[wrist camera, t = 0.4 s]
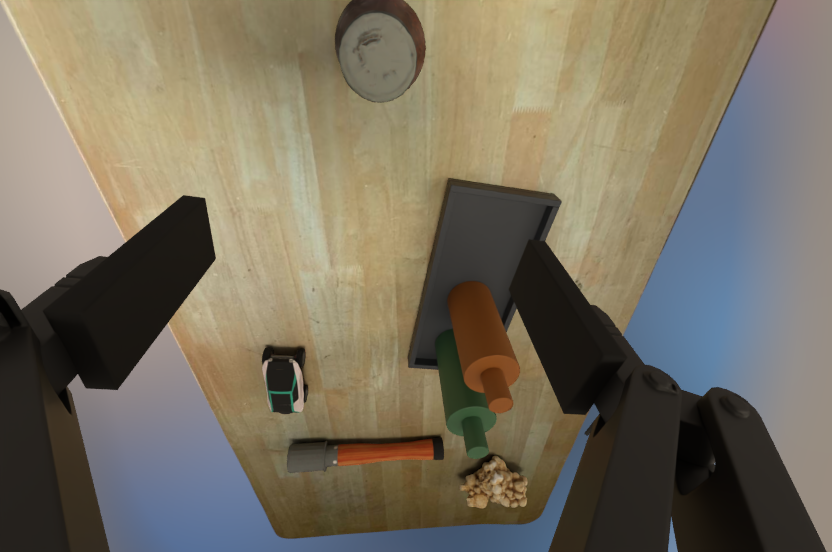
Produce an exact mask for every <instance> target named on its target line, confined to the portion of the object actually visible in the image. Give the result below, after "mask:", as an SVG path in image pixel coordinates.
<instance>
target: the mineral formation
mask: <svg viewBox="0 0 832 552" xmlns="http://www.w3.org/2000/svg"><path fill="white" fill-rule="evenodd" d="M527 484H528V482H527V478H526V477H524V476H523V475H522V476H521V475H520V476H519V474H518V473H517V472H514V473H511V472H510V471H509V469H508V468H507V467H506V464H505V462H504V460H501V459H500V458H499V457H498V456H493V457H492V460H491V461H490V462H485V463H483V465H482V468H481V469H479V470H478V471H477V472H475V473H474V474H471V475H469V476H466V482H465V483H464V484H460V490H464V491H466V492H467V493H469V496H468V498H467V504H468V506H471V507H473V506H476V507H478V508H484V507H486V505H487V502H488V498H490V500H491V501H492V502H497V503H498V504H499V503H501V504H502V505H503V506H505V507H509V505H510V506H511V507H513V508H514V507H517V506H518V504H519V505H520V506H523V507H524V506H525V505H526V503H527V498H526V496H525V493H526V491H527V488H526V485H527Z"/></svg>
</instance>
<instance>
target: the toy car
mask: <svg viewBox="0 0 832 552" xmlns="http://www.w3.org/2000/svg"><path fill="white" fill-rule="evenodd" d="M304 362H305V350H304V349H298V350H297V353H296V355H295V356H286V355H277V356H276V355H274V350H273V348H270V347H268V348H265V349H264V352H263V356H262V363H263V367H262V371H263V374H264V379H265V385H266V390H267V396H268V405H269V408H270V411H271V412H279V413H281V414H290V413H293V412H295V413H299V412H301V411H302V410H303V407H304V403H305V402H306V400H307V395H308V386H306V385H303V376H302V370H301V367H303V365H304Z"/></svg>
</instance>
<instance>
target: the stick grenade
mask: <svg viewBox="0 0 832 552" xmlns="http://www.w3.org/2000/svg"><path fill="white" fill-rule="evenodd" d="M405 459H419V460H443V459H444V447H443V441H442V438H432V439H425V440H418V441H413V442H402V443H385V444H369V443H356V444H340V445H328V442H327V441H325V442H318V443H302V444H292V445H290V447H289V451H288V456H287V470H288V472H289V473H296V472H310V471H324V472H325V471H326V469H327V467H330V466H346V465H360V464H366V463H372V462H378V461H390V460H405Z"/></svg>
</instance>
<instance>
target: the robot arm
mask: <svg viewBox="0 0 832 552" xmlns="http://www.w3.org/2000/svg"><path fill="white" fill-rule="evenodd" d="M215 259H216V257H215V251H214V246H213V240H212V235H211V229H210V223H209V218H208V212H207V207H206V201H205V198H200V197H192V196H185V195H183V196H182V197H181V198H179V199H178V200H177V201H176V202H175V203H173V204H172V205H171V206H170V207H168V208H167V209H166V210H165V211H164V212H162V213H161V214H160V215H159V216H157V217H156V218H155V219H154V220H153V221H151V222H150V223H149V224H148V225H146V226H145V227H144V228H143V229H142V230H140V231H139V232H138V233H137V234H136V235H134V236H133V237H132V238H131V239H129V240H128V241H127V242H126V243H125V244H123V245H122V246H121V247H120V248H118V249H117V250H116V251H115V252H114V253H112V254H111V255H110V256H109V257H103V256H99V257H96V258H94V259H92V260H89V261H87V262H85V263H83V264H80V265H79V266H78V267H76V268H75V269H74V270H72V271H71V272H70V273H68V274H67V275H66V278H64V277H63V278H62V279H61V280H59V281H58V282H57V283H56V284H55V286H54V287H50V288H49V289H48V290H46V291H45V292H44V293H42V294H41V295H40V296H39V297H37V298H36V299H35V300H33V301H32V302H31V303H29V304H28V305H27V306H26V307H24V308H23V309H22V310H21V309H20V308H19V306H18V304H17V303H16V301H15V299H14V298H13V297H12V295H11V294H10V293H9V292H7V291H4V290H0V552H110V550H109V546H108V542H107V538H106V534H105V530H104V525H103V522H102V517H101V513H100V509H99V505H98V501H97V497H96V493H95V488H94V484H93V480H92V476H91V472H90V468H89V463H88V460H87V455H86V451H85V447H84V443H83V439H82V435H81V431H80V426H79V422H78V418H77V414H76V410H75V406H74V401H73V398H72V394H71V392H70V390H69V389H68V387H67V385H68V384H69V383H70V382H71V381H72V380H73V379H74V378H75V376H76V375H77V374H78V375H79V376H80V378H81V380H82V382H83V384H84V386H85V387H86V388H91V389H110V390H118V388H119V387H120V386H121V384H122V383H123V382H124V380H125V379H126V378H127V376H128V375H129V374H130V372H131V371H132V370H133V368H134V367H135V366H136V364H137V363H138V362H139V360H140V359H141V358H142V356H143V355H144V354H145V352H146V351H147V350H148V348H149V347H150V346H151V344H152V343H153V342H154V340H155V339H156V338H157V336H158V335H159V334H160V332H161V331H162V330H163V328H164V327H165V326H166V324H167V323H168V322H169V320H170V319H171V318H172V316H173V315H174V314H175V312H176V311H177V310H178V308H179V307H180V306H181V304H182V303H183V302H184V300H185V299H186V298H187V296H188V295H189V294H190V292H191V291H192V290H193V289H194V287H195V286H196V285H197V283H198V282H199V281H200V279H201V278H202V277H203V275H204V274H205V273H206V271H207V270H208V269H209V267H210V266H211V265H212V263H213V262H214V261H215ZM509 291H510V294H511V296H512V298H513V300H514V303H515V305H516V307H517V309H518V312H519V314H520V316H521V318H522V321H523V323H524V325H525V327H526V330H527V332H528V334H529V336H530V339H531V341H532V343H533V345H534V348H535V350H536V352H537V354H538V357H539V359H540V361H541V363H542V366H543V368H544V370H545V372H546V375H547V377H548V379H549V381H550V384H551V386H552V388H553V390H554V393H555V395H556V397H557V399H558V402H559V404H560V406H561V408H562V411H563V413H564V414H581V415H586V413H587V412H588V411H589V409H590V408H591V407H592V405H593V404H595V405H596V407H597V409H598V411H599V413H600V414H599V415H598V417H597V418H596V419H595V420H594V422H593V423H592V424H591V425H590V427H589V428H588V429H587V431H586V432H585V434H586V435H589V434H590V435H589V438H588V440H587V443H586V446H585V449H584V452H583V455H582V457H581V460H580V463H579V466H578V469H577V472H576V475H575V478H574V480H573V483H572V486H571V489H570V492H569V495H568V497H567V500H566V503H565V506H564V509H563V512H562V515H561V517H560V520H559V523H558V526H557V529H556V532H555V534H554V537H553V540H552V543H551V546H550V549H549V552H668V544H669V533H670V522H671V517H672V522H673V528H674V533H675V538H676V544H677V549H678V552H826V550H825V548H824V546H823V544H822V542H821V540H820V537H819V535H818V533H817V531H816V529H815V527H814V525H813V523H812V521H811V519H810V517H809V515H808V513H807V511H806V509H805V507H804V505H803V503H802V500H801V498H800V496H799V494H798V492H797V490H796V488H795V486H794V484H793V482H792V480H791V478H790V476H789V474H788V472H787V470H786V468H785V466H784V464H783V462H782V460H781V458H780V455H779V453H778V451H777V450H776V447H775V445H774V443H773V441H772V439H771V437H770V435H769V433H768V431H767V429H766V427H765V425H764V423H763V421H762V418H761V417H760V415H759V414H758V412H757V411H756V409H755V408H754V407H752V406H751V405H750V404H749V403H748V401H746V400H745V399H744V398H742V397H741V396H739V395H737V394H736V393H733V392H731V391H729V390H727V389H723V388H719V387H716V388H711V389H710V390H709V391H708V392H707V393H706V394H705V395H704V396H703V397H702V396H699V395H696V394H693V393H690V392H687V391H684V390H681V389H680V387H679V386H678V384H677V383H676V381H674V380H673V379H672V378H671V377H670V376H669V375H668V374H666V373H665V372H663V371H661V370H660V369H658V368H655V367H653V366H650V365H645V364H644V363H643V362H642V360H641V359H640V358H639V356H638V355H637V354H636V353H635V351H634V350H633V348H632V347H631V346H630V344H629V343H628V342H627V340H626V339H625V338H624V336H622V334H621V332H620V331H619V330H618V328H616V327H615V326H616V325H615V324H614V323H613V321H612V320H611V319H610V317H609V316H608V315H607V314H606V313H605V312H603V311H602V310H601V309H600V308H598V307H597V306H596V305H590V304H589V302H588V301H587V300H586V298H585V297H584V295H583V294H582V292H581V291H580V290H579V288H578V287H577V285H576V284H575V283H574V281H573V280H572V278H571V277H570V276H569V274H568V273H567V271H566V270H565V269H564V267H563V266H562V264H561V263H560V262H559V260H558V259H557V257H556V256H555V255H554V253H553V252H552V250H551V249H550V248H549V246H548V245H547V243H546V242H545V241H539V240H531V239H529V240H528V242H527V245H526V247H525V250H524V252H523V255H522V257H521V260H520V262H519V265H518V267H517V270H516V272H515V275H514V277H513V280H512V282H511V285H510V287H509ZM714 463H715V465H714Z"/></svg>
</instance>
